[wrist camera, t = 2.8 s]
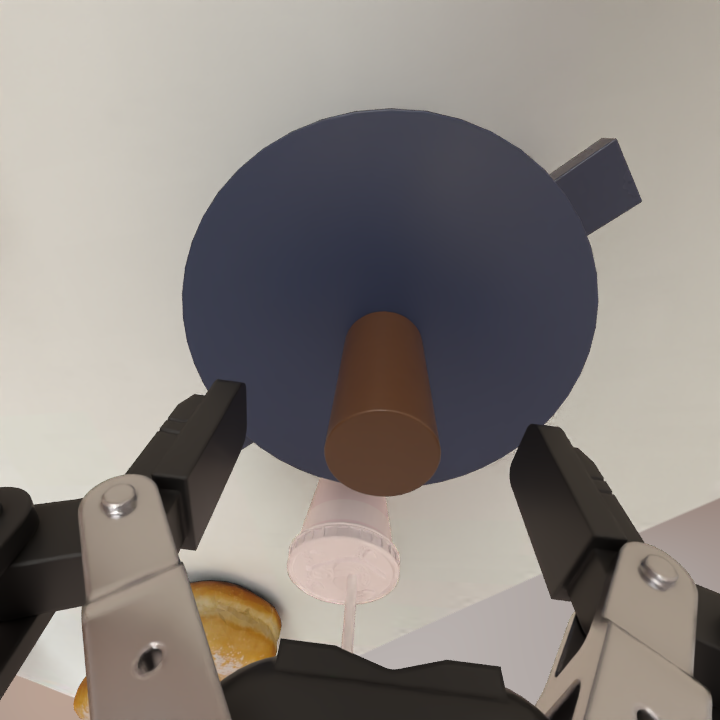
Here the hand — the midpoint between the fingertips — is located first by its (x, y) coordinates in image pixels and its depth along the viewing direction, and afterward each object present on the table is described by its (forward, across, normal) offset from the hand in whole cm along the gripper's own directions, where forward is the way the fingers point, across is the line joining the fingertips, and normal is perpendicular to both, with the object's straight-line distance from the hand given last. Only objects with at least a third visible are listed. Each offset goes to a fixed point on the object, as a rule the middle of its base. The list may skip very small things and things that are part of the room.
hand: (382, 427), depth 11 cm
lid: (+5, 0, 0) cm, 5 cm away
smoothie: (+14, 0, +14) cm, 20 cm away
